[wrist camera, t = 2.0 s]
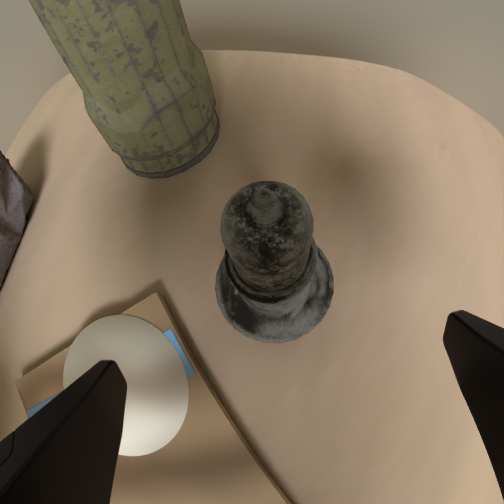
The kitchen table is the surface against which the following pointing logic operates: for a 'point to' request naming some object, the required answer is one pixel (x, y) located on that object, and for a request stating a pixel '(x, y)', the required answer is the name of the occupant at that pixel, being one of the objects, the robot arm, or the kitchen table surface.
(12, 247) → the perforated stone tool
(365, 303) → the kitchen table surface
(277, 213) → the dark grey chess piece
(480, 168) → the kitchen table surface
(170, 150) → the thermos
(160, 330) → the board
